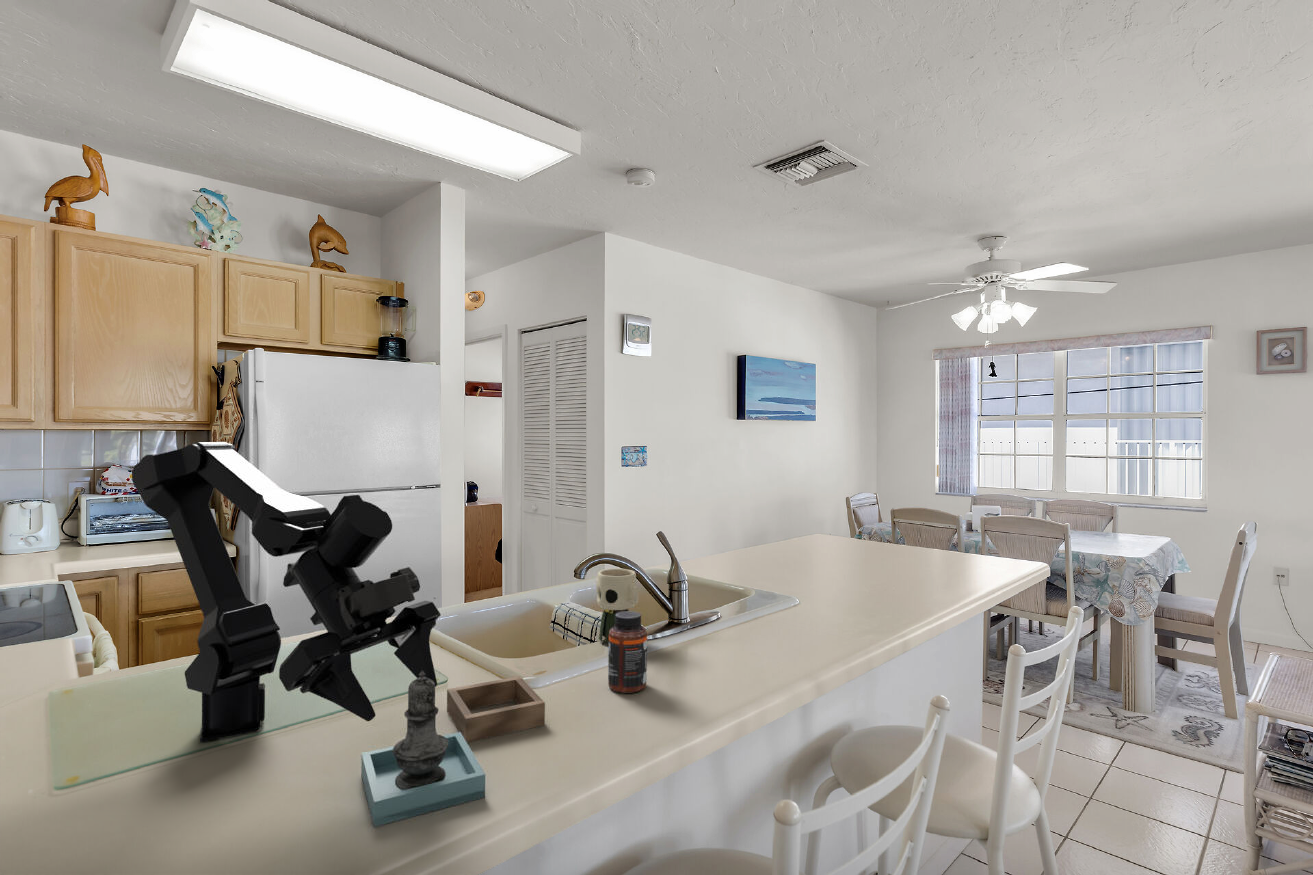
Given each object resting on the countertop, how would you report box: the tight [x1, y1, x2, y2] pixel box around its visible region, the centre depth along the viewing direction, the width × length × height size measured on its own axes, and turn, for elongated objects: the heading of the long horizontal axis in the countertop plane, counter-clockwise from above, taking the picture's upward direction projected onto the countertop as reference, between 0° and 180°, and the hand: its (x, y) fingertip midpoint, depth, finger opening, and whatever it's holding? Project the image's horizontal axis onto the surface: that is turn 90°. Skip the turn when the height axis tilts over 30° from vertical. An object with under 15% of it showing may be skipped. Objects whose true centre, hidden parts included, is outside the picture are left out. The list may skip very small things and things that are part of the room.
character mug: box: [595, 568, 639, 644], centre depth 123 cm, size 11×7×13 cm, turn 46°
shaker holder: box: [446, 676, 546, 743], centre depth 90 cm, size 10×10×3 cm
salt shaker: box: [393, 671, 449, 790], centre depth 73 cm, size 6×6×12 cm
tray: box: [360, 731, 486, 828], centre depth 73 cm, size 11×11×2 cm
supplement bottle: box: [607, 610, 648, 694], centre depth 102 cm, size 6×6×11 cm
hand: (404, 702), depth 74 cm, fingers open, 9 cm apart
